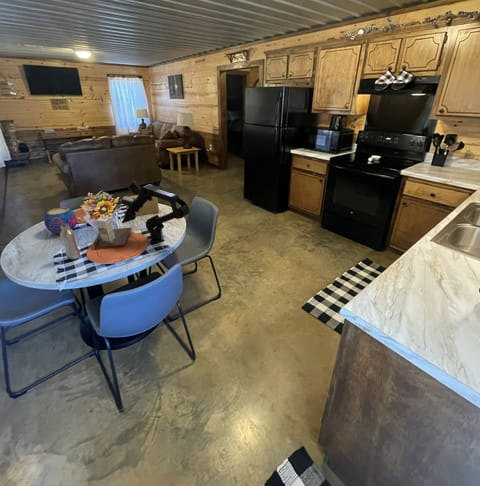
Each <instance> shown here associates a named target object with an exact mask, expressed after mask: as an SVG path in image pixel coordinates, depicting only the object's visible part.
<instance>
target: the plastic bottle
mask: <svg viewBox="0 0 480 486" xmlns="http://www.w3.org/2000/svg"><path fill="white" fill-rule="evenodd" d="M61 230H62V231H61V233H60V234H59V238H60V239H61V241H62V243H63V246H64V250H65V256H66V258H67V259H68V260H70V261H71V260H77V259H78V258H80V256H81V251H80V249H79V247H78V245H77V241H76V236H75V234H76V233H75V231H74V229H72V230H71V229H70V227H69V224H63V225H61Z"/></svg>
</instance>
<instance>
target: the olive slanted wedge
mask: <svg viewBox="0 0 480 486" xmlns="http://www.w3.org/2000/svg"><path fill="white" fill-rule="evenodd" d="M131 231H132V227H119V228H113V232H114V236H115V238H114V239H113V240H112V241H111V242H101V238H100V234H99V233H98V234H97V236H96V238H95V239H94V241H92V242H93V247H94V249H95V250H102V249H111V248H122V247H125V246H126V244H127V241H128V238H129V236H130V233H131Z"/></svg>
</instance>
